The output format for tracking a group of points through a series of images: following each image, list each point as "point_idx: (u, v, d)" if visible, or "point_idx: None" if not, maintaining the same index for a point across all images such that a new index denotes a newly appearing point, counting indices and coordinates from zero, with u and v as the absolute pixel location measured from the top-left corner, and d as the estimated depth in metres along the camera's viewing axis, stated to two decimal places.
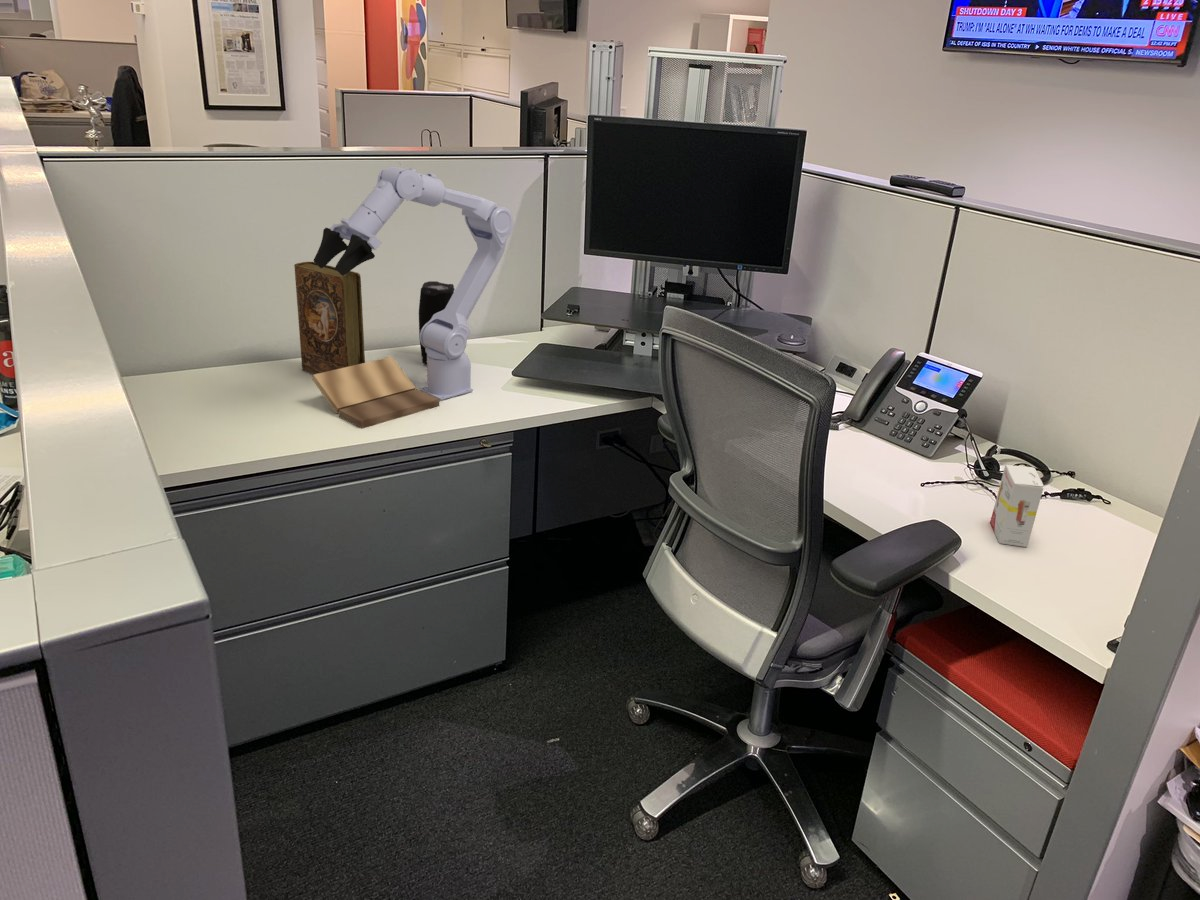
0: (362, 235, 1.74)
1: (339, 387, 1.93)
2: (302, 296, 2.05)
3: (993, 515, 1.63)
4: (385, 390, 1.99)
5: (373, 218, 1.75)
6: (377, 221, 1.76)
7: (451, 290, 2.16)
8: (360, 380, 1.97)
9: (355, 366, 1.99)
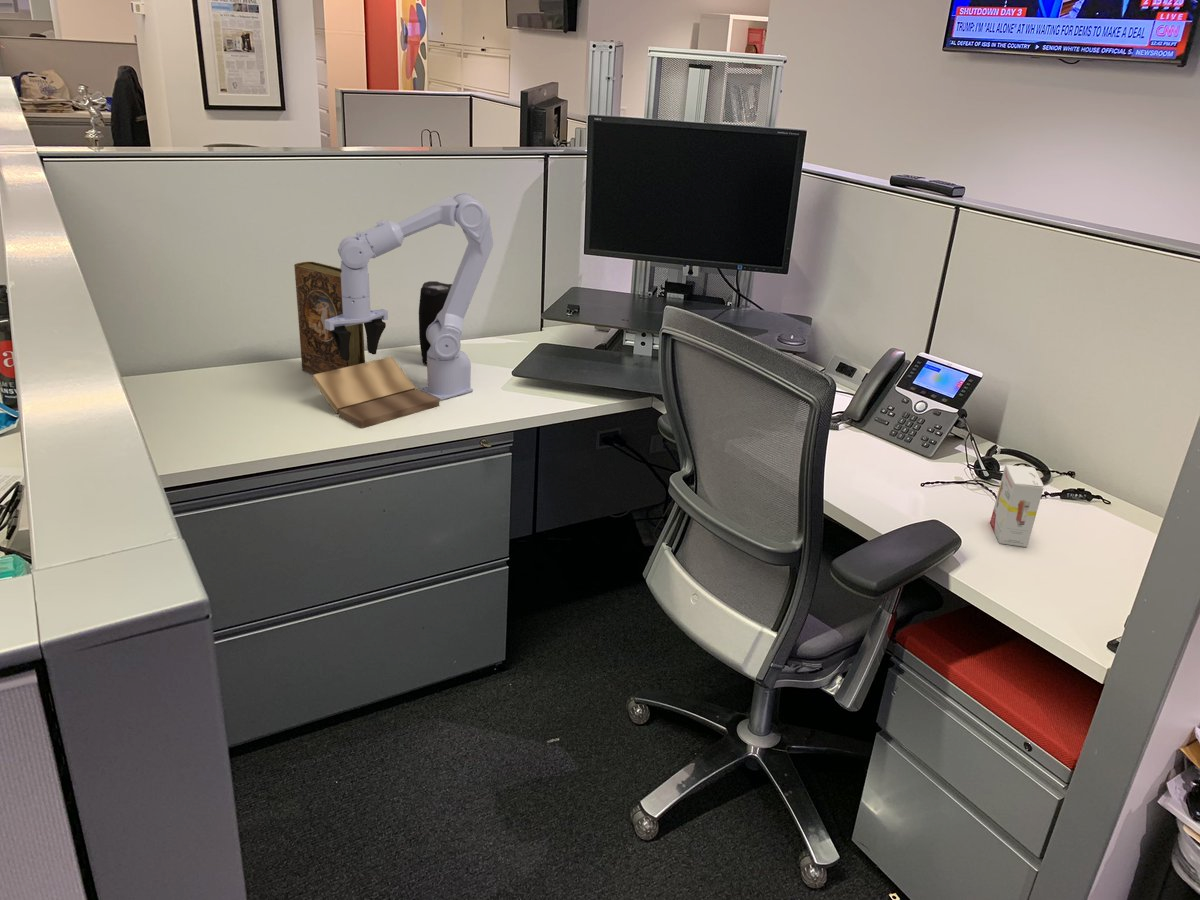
0: None
1: (339, 387, 1.93)
2: (302, 296, 2.05)
3: (993, 515, 1.63)
4: (385, 390, 1.99)
5: (342, 300, 1.91)
6: (344, 300, 1.90)
7: None
8: (360, 380, 1.97)
9: (355, 366, 1.99)
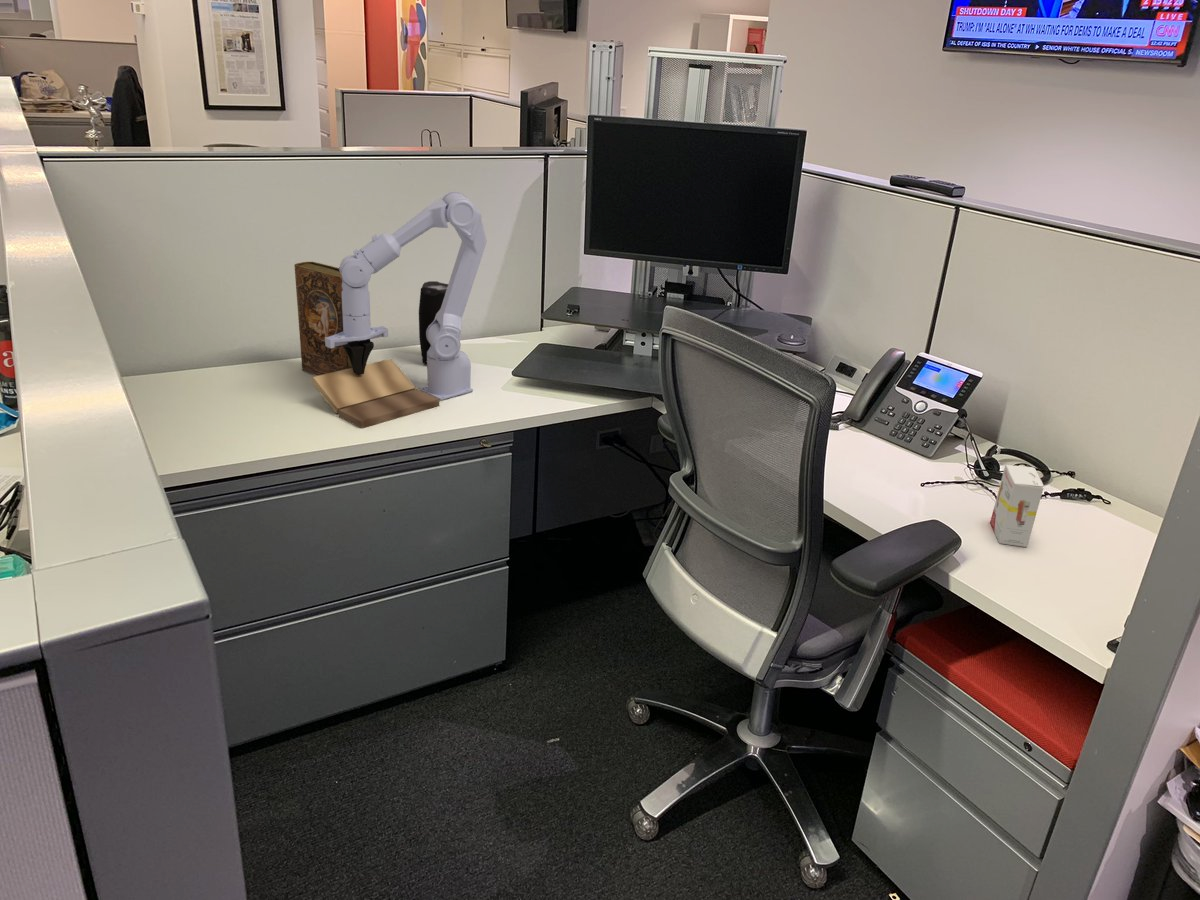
0: None
1: (339, 388, 1.94)
2: (302, 296, 2.05)
3: (993, 515, 1.63)
4: (385, 390, 1.99)
5: (343, 317, 1.92)
6: (345, 318, 1.92)
7: None
8: (359, 381, 1.98)
9: None
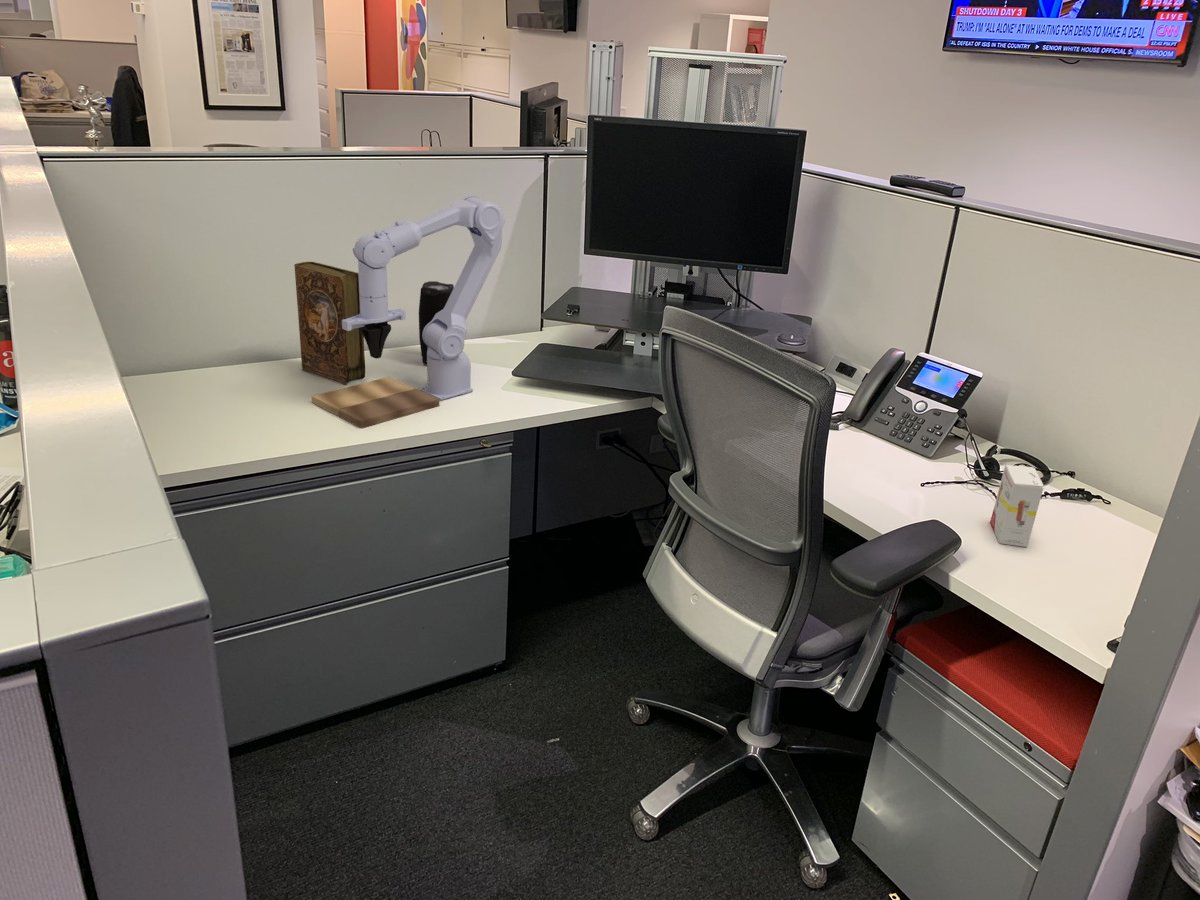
0: None
1: (338, 398, 1.95)
2: (302, 296, 2.05)
3: (993, 515, 1.63)
4: (384, 393, 1.99)
5: (360, 299, 1.88)
6: (362, 299, 1.87)
7: (451, 290, 2.16)
8: (358, 392, 1.99)
9: (353, 386, 2.02)
